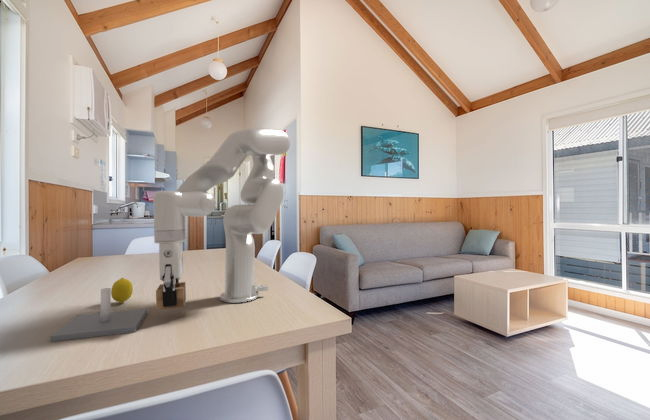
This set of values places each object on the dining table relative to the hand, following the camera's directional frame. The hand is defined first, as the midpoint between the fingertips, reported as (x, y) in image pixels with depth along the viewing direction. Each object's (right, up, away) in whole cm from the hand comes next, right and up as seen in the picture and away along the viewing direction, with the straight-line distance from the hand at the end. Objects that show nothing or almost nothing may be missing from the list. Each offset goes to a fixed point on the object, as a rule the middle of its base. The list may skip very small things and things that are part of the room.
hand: (171, 301), depth 80 cm
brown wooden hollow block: (0, -1, 0) cm, 1 cm away
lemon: (-22, -5, +11) cm, 25 cm away
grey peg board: (-14, -4, -6) cm, 16 cm away
